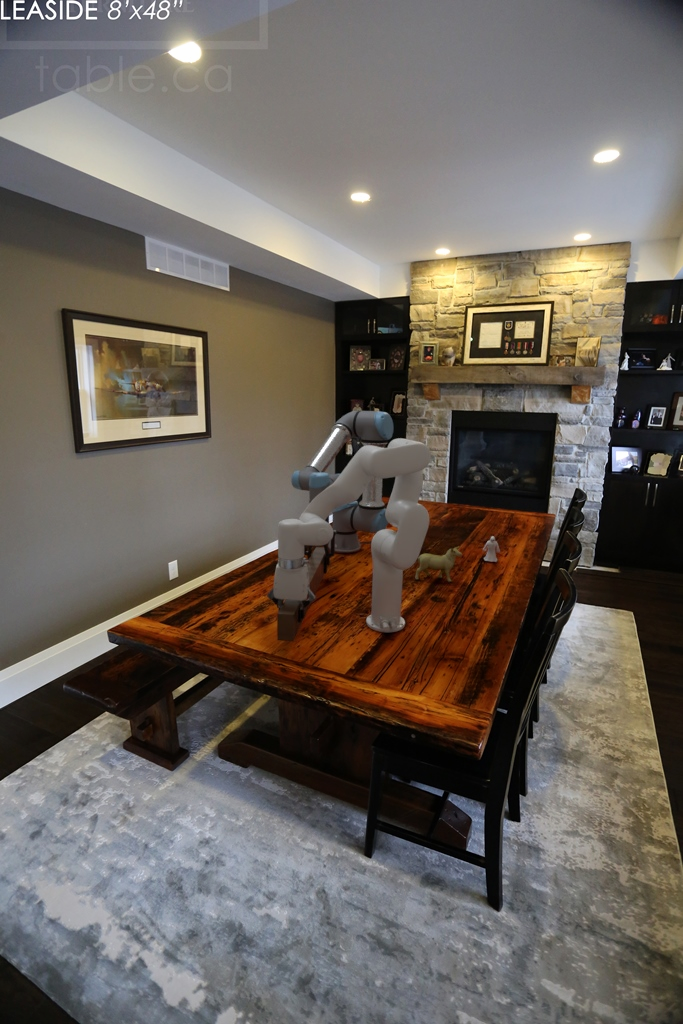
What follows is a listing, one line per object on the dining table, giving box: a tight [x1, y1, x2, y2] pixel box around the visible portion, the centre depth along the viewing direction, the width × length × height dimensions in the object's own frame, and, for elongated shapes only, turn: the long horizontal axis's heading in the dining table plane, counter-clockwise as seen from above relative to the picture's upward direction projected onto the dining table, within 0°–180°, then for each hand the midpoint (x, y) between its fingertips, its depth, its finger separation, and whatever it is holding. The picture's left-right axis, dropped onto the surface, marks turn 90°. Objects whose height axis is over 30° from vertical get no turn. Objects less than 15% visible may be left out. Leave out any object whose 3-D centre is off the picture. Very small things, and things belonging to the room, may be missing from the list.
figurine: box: [482, 535, 501, 563], centre depth 223 cm, size 8×8×12 cm
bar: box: [276, 546, 329, 643], centre depth 171 cm, size 61×5×8 cm, turn 172°
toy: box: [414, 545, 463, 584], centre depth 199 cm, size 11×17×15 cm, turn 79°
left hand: (318, 572), depth 194 cm, fingers closed on bar, 5 cm apart
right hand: (291, 619), depth 149 cm, fingers closed on bar, 4 cm apart
